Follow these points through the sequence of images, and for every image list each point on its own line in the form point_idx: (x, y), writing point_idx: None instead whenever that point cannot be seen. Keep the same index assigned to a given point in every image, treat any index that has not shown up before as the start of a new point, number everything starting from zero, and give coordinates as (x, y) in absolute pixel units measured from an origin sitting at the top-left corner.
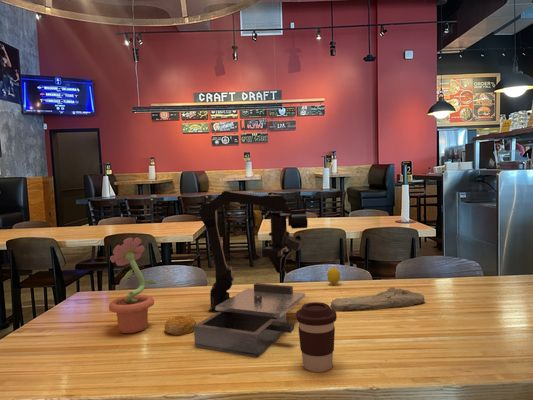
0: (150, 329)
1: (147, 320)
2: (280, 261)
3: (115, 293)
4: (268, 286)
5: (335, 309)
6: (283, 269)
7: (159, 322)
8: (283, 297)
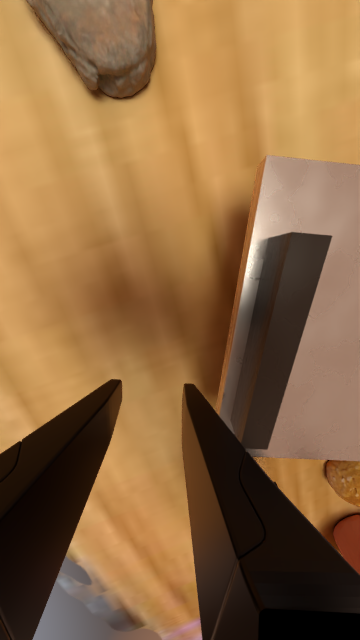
0: (355, 506)
1: (358, 532)
2: (285, 512)
3: (170, 623)
4: (286, 378)
5: (154, 57)
6: (113, 385)
7: (317, 510)
8: (353, 265)
